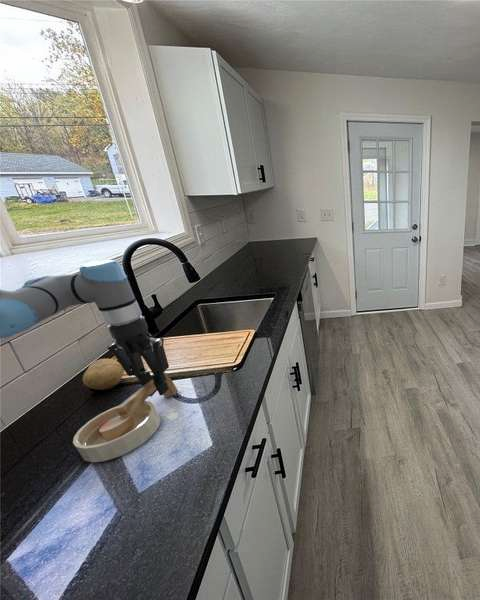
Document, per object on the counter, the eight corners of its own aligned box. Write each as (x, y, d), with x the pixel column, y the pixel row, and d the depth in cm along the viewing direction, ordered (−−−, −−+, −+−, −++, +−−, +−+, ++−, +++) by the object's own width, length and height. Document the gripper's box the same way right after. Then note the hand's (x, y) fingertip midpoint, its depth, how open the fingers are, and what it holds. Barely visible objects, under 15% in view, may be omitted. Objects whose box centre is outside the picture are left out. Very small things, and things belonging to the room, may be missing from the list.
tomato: (104, 439, 80) (91, 432, 77) (113, 426, 82) (101, 419, 80) (116, 435, 79) (103, 428, 77) (124, 422, 82) (112, 415, 80)
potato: (88, 404, 93) (75, 382, 90) (90, 383, 103) (79, 362, 100) (129, 388, 99) (118, 367, 95) (128, 370, 109) (118, 350, 106)
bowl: (64, 467, 72) (53, 451, 70) (116, 418, 86) (108, 403, 84) (133, 460, 73) (124, 444, 71) (173, 412, 87) (167, 397, 85)
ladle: (129, 444, 74) (112, 420, 72) (103, 450, 74) (86, 427, 72) (183, 389, 95) (172, 370, 92) (164, 395, 95) (151, 375, 92)
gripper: (164, 311, 85) (193, 382, 94) (106, 316, 84) (140, 387, 93) (145, 323, 78) (178, 398, 87) (82, 329, 77) (121, 404, 86)
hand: (158, 392), depth 90 cm, fingers closed on ladle, 2 cm apart
